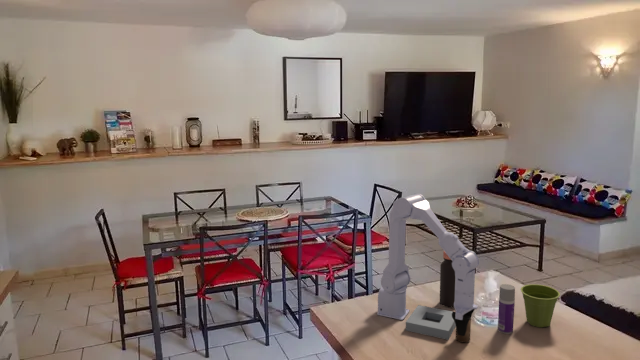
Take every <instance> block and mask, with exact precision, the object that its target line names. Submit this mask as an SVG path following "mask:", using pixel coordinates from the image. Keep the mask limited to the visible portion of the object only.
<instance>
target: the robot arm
mask: <svg viewBox="0 0 640 360" xmlns="http://www.w3.org/2000/svg"><path fill="white" fill-rule="evenodd" d="M392 205H393V206H392V208H391V210H390V212H389V225H388V230H389V231H388V233H389V234H388V263H387V265H386V266H385V267H384V268H383V271H382V272H383V273H382V277H381V278H380V285H381V287H380V289H379V290H378V294H377V313H376V314H377V316H381V317H385V318H386V317H387V318H391V319H395V320H400V321H403V320H404V319H405V318H406V316H407V315H408V314H409V312H410V309H407V289H408V285H409V284H410V283H411V275H410V271H409V265H407V264H406V263H405V262H406V261H405V260H406V258H405V257H406V230H407V229H406V228H407V226H406V225H407V223H406V222H407V220H408V219H409V218H410V219H412V220H419V221H421V222H423V223H424V225H425V226H426V227H427V228H428V229H429V230H430V231H431V232H432V233H433V234H434V235H435V236H436V237H437V238H438V243H437V244H438V245H439V247H440V248H441V249H442V250H443V252H444V251H445V253H446V254H447V255H448V256H449V258H450V259H451V260H452V261H453V262H452V267H453V269H454V271H455V302H454V307H453V308H454V310H455V311H452V318H453V320H454V322H455V324H456V327H455V330H456V329H457V333H458V335H461V336H465V334H466V330H467V325H468V322H469V320H470V319H471V320H472V316H473V313H474V311H475V310H477V309H478V306H479V305H478V304H475V302H474V301H475V281H476V280H475V279H476V278H475V277H476V268H478V266H479V265H480V260H479V257H478V255H477V254H476V252H475V251H473V250H471V249H468V248H467V247H466V246H465V244H463V242H462V241H461V240H460V239H459V236H458V235H457V234H454V233H453V232H451V231H448V230H447V229H446V228H445V226H444V225H443V224H442V223H441V221H440V220H439V219H438V216H437V215H436V214H435V213H434V211H433V210H432V209H431V206H430V202H429V200H427V199H426V198H425V196H424V195H423V194H421V193H414V194H411V195H407V196H404V197H399V198H397V199H396V200H394V201H393V203H392Z"/></svg>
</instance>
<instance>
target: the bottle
mask: <svg viewBox="0 0 640 360" xmlns="http://www.w3.org/2000/svg"><path fill="white" fill-rule="evenodd" d="M442 253H443V255H442V257H443V261H442V262H441V263H440V264H439V265H440V267H439V268H440V269H439V270H440V272H439V304H440V305H441V306H443V307H446V308H454V302H455V271H454V269H453V267H452V262H453V261H452V260H451V259H450V258H449V256H448V255H447V254H446V253H445V251H444V250H443V252H442Z"/></svg>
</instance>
